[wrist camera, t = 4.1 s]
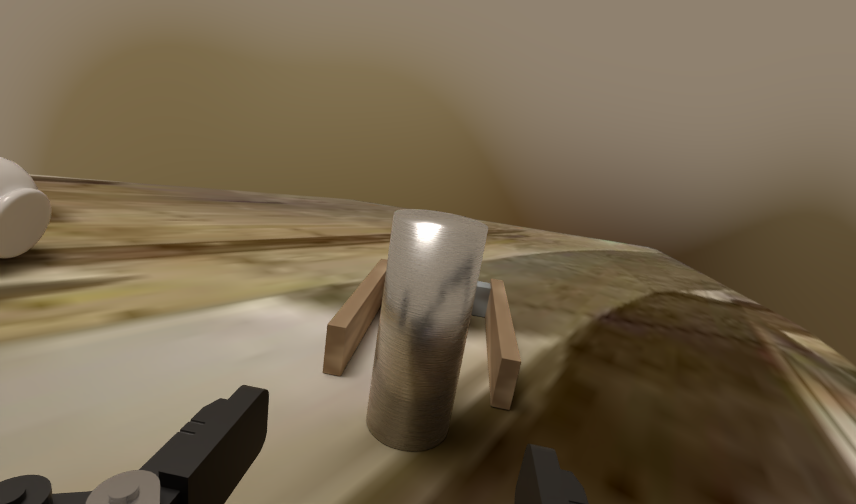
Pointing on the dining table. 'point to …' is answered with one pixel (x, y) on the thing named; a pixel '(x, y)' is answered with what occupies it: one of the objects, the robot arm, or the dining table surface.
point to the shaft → (423, 326)
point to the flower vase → (20, 210)
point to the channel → (487, 303)
